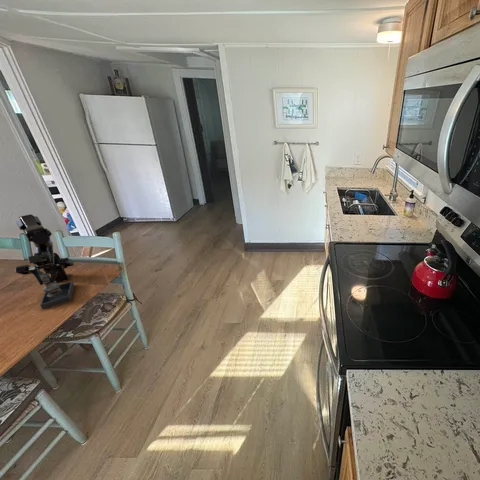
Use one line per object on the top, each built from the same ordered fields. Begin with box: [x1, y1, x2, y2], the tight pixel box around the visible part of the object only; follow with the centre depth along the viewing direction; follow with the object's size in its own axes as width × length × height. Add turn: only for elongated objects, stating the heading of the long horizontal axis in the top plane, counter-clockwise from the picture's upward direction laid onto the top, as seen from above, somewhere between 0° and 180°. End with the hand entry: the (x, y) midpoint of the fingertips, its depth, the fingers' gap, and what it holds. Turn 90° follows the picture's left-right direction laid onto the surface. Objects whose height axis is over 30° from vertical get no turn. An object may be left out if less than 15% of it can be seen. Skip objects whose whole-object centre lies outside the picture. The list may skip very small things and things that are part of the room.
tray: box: [39, 281, 75, 310], centre depth 130 cm, size 15×10×3 cm, turn 35°
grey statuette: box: [40, 271, 62, 297], centre depth 123 cm, size 6×6×12 cm
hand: (46, 283), depth 122 cm, fingers closed on grey statuette, 3 cm apart
